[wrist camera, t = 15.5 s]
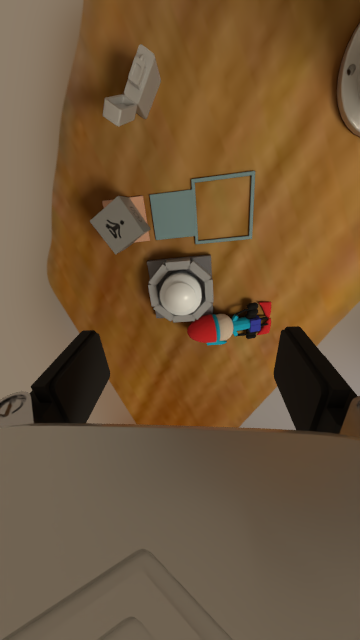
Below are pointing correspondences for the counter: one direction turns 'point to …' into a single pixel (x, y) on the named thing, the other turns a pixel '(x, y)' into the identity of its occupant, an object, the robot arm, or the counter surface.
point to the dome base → (193, 265)
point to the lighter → (135, 90)
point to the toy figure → (230, 325)
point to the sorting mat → (182, 212)
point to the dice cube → (120, 224)
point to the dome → (181, 293)
